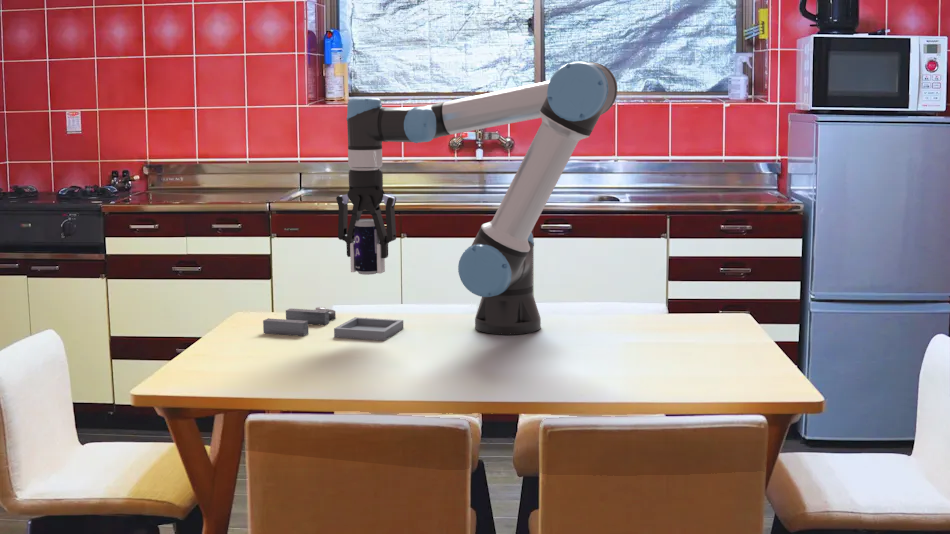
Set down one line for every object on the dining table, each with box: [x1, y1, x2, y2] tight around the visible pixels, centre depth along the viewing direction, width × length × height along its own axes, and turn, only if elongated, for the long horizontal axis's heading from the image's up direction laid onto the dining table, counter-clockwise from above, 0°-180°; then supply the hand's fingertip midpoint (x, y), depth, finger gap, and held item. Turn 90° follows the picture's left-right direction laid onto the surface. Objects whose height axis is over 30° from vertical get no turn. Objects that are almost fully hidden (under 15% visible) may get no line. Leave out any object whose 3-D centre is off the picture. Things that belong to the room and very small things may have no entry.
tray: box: [333, 316, 404, 341], centre depth 249 cm, size 12×12×2 cm
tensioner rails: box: [262, 306, 337, 337], centre depth 258 cm, size 10×21×3 cm, turn 163°
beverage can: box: [354, 218, 380, 276], centre depth 246 cm, size 6×6×12 cm
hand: (367, 271), depth 247 cm, fingers closed on beverage can, 6 cm apart
